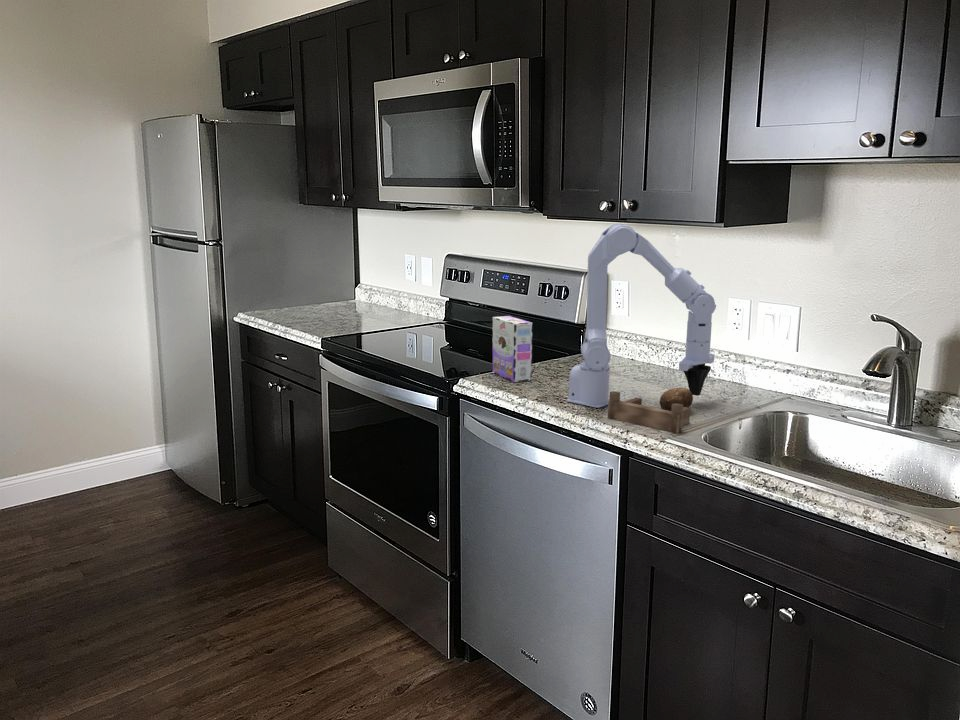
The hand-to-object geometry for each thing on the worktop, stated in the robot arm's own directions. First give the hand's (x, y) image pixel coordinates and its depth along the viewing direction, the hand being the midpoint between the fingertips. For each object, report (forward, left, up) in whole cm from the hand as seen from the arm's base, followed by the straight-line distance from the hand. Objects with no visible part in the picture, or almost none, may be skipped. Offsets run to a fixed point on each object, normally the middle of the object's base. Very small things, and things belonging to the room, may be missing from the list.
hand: (695, 394), depth 205 cm
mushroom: (0, -9, -3) cm, 10 cm away
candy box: (-52, -8, -3) cm, 53 cm away
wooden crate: (0, -20, -2) cm, 21 cm away
